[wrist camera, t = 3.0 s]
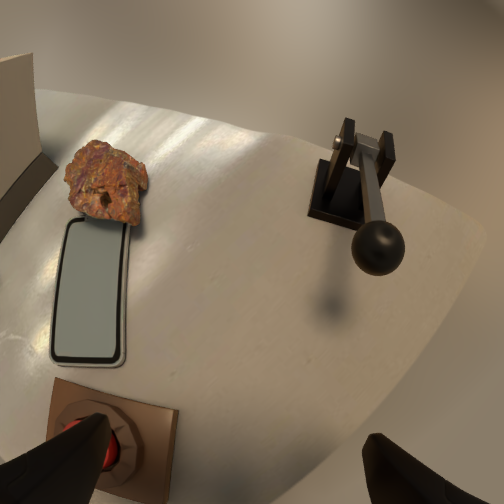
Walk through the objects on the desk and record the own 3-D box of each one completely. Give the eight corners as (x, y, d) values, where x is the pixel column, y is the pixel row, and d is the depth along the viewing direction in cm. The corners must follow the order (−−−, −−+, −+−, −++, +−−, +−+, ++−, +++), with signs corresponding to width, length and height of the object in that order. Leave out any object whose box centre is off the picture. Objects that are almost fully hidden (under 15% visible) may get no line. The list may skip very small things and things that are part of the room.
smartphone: (47, 364, 20) (66, 217, 27) (52, 365, 21) (69, 222, 28) (123, 366, 21) (130, 209, 28) (127, 368, 22) (132, 214, 29)
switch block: (178, 410, 21) (169, 409, 17) (168, 500, 17) (157, 515, 13) (67, 380, 20) (43, 372, 17) (56, 464, 16) (31, 468, 13)
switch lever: (392, 293, 16) (418, 254, 14) (342, 279, 17) (364, 237, 14) (372, 164, 28) (382, 137, 26) (343, 154, 29) (352, 126, 26)
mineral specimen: (183, 170, 30) (156, 146, 23) (154, 240, 30) (119, 232, 23) (102, 145, 32) (69, 124, 25) (77, 204, 32) (39, 192, 25)
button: (120, 428, 16) (111, 429, 15) (115, 475, 14) (106, 479, 13) (75, 414, 16) (63, 413, 15) (70, 458, 14) (58, 460, 13)
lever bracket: (370, 235, 30) (407, 177, 23) (307, 216, 31) (330, 151, 23) (372, 182, 34) (400, 127, 27) (317, 165, 35) (336, 105, 27)
